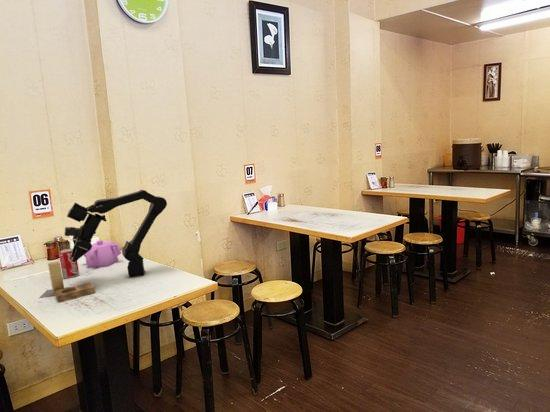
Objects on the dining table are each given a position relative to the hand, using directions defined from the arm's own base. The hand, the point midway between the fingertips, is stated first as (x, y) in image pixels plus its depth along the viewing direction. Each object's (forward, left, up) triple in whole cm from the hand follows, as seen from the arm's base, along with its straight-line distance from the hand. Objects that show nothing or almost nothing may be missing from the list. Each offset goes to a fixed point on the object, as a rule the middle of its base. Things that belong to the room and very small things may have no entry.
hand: (72, 259), depth 179 cm
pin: (+6, +5, -12) cm, 15 cm away
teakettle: (-2, -38, -13) cm, 40 cm away
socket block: (-2, +11, -13) cm, 17 cm away
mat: (+8, +3, -13) cm, 15 cm away
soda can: (+8, -20, -13) cm, 25 cm away
